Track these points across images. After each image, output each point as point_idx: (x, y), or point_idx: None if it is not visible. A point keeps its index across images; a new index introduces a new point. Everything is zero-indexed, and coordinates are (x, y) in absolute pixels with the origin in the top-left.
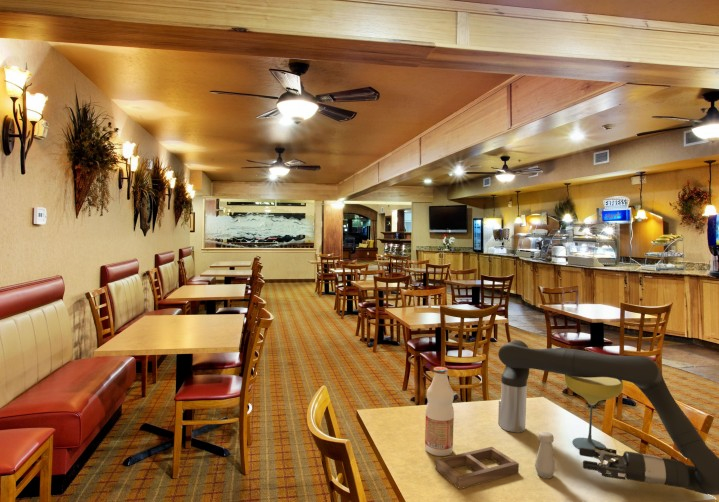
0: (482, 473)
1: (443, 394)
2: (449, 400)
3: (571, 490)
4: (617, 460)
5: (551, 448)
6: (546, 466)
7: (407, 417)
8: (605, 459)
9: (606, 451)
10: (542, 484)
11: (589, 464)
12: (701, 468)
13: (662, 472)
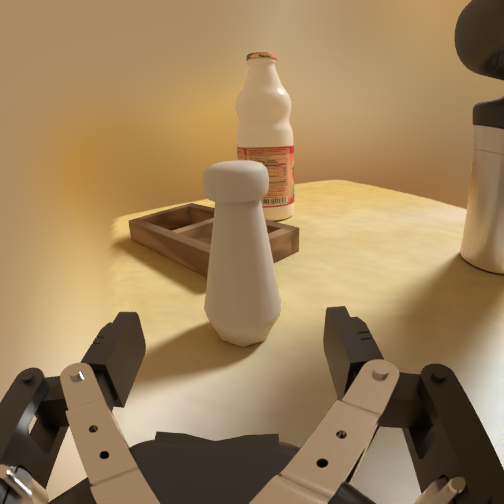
0: (153, 231)
1: (239, 95)
2: (246, 106)
3: (148, 391)
4: None
5: (229, 232)
6: (206, 289)
7: (360, 193)
8: (183, 439)
9: (360, 445)
10: (173, 325)
11: (99, 335)
12: None
13: None
